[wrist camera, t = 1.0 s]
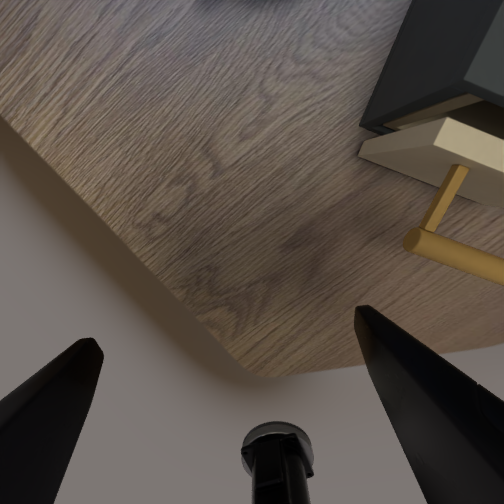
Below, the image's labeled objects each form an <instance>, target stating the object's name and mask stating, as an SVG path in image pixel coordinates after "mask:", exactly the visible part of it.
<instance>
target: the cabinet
mask: <svg viewBox="0 0 504 504" xmlns="http://www.w3.org/2000/svg"><path fill="white" fill-rule="evenodd" d="M465 92H467V93H469V94H472V95H474V96H477V97H479V98H481V99H484V100H486V101H488V102H491V103H493V104H495V105H498V106H500V107H503V108H504V0H412V2H411V5H410V7H409V9H408V12H407V14H406V16H405V19H404V21H403V23H402V26H401V28H400V30H399V33H398V35H397V38H396V40H395V42H394V45H393V47H392V49H391V52H390V54H389V56H388V59H387V61H386V63H385V66H384V68H383V70H382V73H381V75H380V77H379V80H378V82H377V84H376V87H375V89H374V91H373V94H372V96H371V98H370V101H369V103H368V105H367V108H366V110H365V112H364V115H363V117H362V119H361V122H360V124H359V126H360V127H363V128H365V129H368V130H370V131H373V132H375V133H378V134H380V135H386V134H390V133H393V132H397V131H395V130H393V129H390V128H388V127H385V126H383V123H386V122H388V121H391V120H394V119H396V118H399V117H402V116H404V115H407V114H409V113H412V112H415V111H417V110H420V109H423V108H425V107H428V106H431V105H433V104H436V103H438V102H441V101H444V100H446V99H449V98H452V97H454V96H457V95H459V94H462V93H465Z"/></svg>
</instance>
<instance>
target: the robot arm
mask: <svg viewBox="0 0 504 504" xmlns="http://www.w3.org/2000/svg"><path fill="white" fill-rule="evenodd" d="M354 329H355V332H356V335H357V338H358V342H359V345H360V348H361V351H362V354H363V357H364V360H365V363H366V366H367V369H368V372H369V375H370V377H371V379H372V382H373V384H374V386H375V388H376V391H377V393H378V395H379V397H380V400H381V402H382V404H383V406H384V408H385V411H386V413H387V415H388V417H389V419H390V422H391V424H392V426H393V428H394V430H395V433H396V435H397V437H398V439H399V442H400V444H401V446H402V448H403V451H404V453H405V455H406V457H407V459H408V461H409V464H410V466H411V468H412V470H413V473H414V475H415V477H416V479H417V481H418V483H419V486H420V488H421V490H422V492H423V494H424V497H425V499H426V501H427V503H428V504H504V401H503V400H501V399H500V398H498V397H497V396H495V395H494V394H493V393H491V392H490V391H488V390H487V389H486V388H484V387H483V386H481V385H480V384H478V385H477V382H476V381H474V380H473V379H472V378H470V377H469V376H467V375H466V374H465V373H463V372H462V371H460V370H459V369H457V368H456V367H455V366H453V365H452V364H451V363H449V362H448V361H446V360H445V359H444V358H442V357H441V356H439V355H438V354H437V353H435V352H434V351H433V350H431V349H430V348H428V347H427V346H426V345H424V344H423V343H421V342H420V341H419V340H417V339H416V338H414V337H413V336H412V335H410V334H409V333H407V332H406V331H405V330H403V329H402V328H400V327H399V326H398V325H396V324H395V323H394V322H392V321H391V320H389V319H388V318H387V317H385V316H384V315H382V314H381V313H380V312H378V311H377V310H375V309H374V308H373V307H371V306H369V305H362V306H357V307H356V308H355V317H354ZM103 359H104V354H103V351H102V350H101V348H100V347H99V345H98V344H97V342H96V341H95V339H94V338H82V339H79V340H78V341H76V342H75V343H74V344H73V345H71V346H70V347H69V348H67V349H66V350H65V351H64V352H62V353H61V354H60V355H58V356H57V357H56V358H55V359H53V360H52V361H51V362H49V363H48V364H47V365H46V366H44V367H43V368H42V369H40V370H39V371H38V372H37V373H35V374H34V375H33V376H31V377H30V378H29V379H28V380H26V381H25V382H24V383H22V384H21V385H20V386H19V387H17V388H16V389H15V390H13V391H12V392H11V393H10V394H8V395H7V396H6V397H4V398H3V399H2V400H1V401H0V504H54V501H55V498H56V496H57V493H58V491H59V488H60V485H61V483H62V480H63V477H64V475H65V472H66V470H67V467H68V464H69V462H70V459H71V456H72V453H73V451H74V448H75V446H76V443H77V440H78V438H79V435H80V433H81V430H82V427H83V425H84V422H85V419H86V417H87V414H88V411H89V408H90V406H91V403H92V400H93V396H94V393H95V389H96V385H97V382H98V378H99V374H100V371H101V367H102V364H103ZM241 454H242V456H243V458H244V460H245V462H246V464H247V465H248V467H249V469H250V471H251V473H252V504H311V503H310V497H309V491H308V485H307V478H310V477H312V476H313V475H314V473H313V469H312V466H311V464H310V462H309V460H308V458H307V455H306V453H305V451H304V449H303V447H302V444H301V442H300V440H299V438H298V436H297V434H296V433H289V434H286V435H282V436H279V437H275V438H272V439H268V440H265V441H261V442H258V443H254V444H250V445H247V446H244V447H242V449H241Z"/></svg>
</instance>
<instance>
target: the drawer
mask: <svg viewBox="0 0 504 504" xmlns="http://www.w3.org/2000/svg"><path fill="white" fill-rule="evenodd" d="M383 126H385V127H388V128H390V129H393V130H395V131H397V132H393V133H390V134H386V135H383V136H379V137H376V138H372V139H369V140H365V141H364V142H363V145H362V147H361V149H360V152H359V154H358V157H361V158H363V159H366V160H369V161H371V162H374V163H376V164H379V165H382V166H384V167H387V168H389V169H392V170H395V171H397V172H400V173H402V174H405V175H408V176H410V177H413V178H415V179H418V180H421V181H423V182H426V183H428V184H431V185H434V186H436V187H439V190H438V192H437V194H436V196H435V197H434V199H433V201H432V203H431V205H430V207H429V208H428V210H427V212H426V214H425V216H424V218H423V220H422V221H421V223H420V225H419V228H418V227H416V228H413V229H411V230H410V231H409V232H408V233H407V234H406V236H405V238H404V241H403V247H404V249H405V250H406V251H408V252H411V253H413V254H416V255H419V256H422V257H425V258H427V259H430V260H433V261H436V262H439V263H441V264H444V265H447V266H450V267H452V268H455V269H458V270H461V271H464V272H466V273H469V274H472V275H475V276H478V277H480V278H483V279H486V280H489V281H492V282H494V283H497V284H500V285H503V286H504V259H503V258H500V257H497V256H495V255H492V254H489V253H487V252H484V251H481V250H478V249H476V248H473V247H470V246H468V245H465V244H462V243H459V242H457V241H454V240H451V239H449V238H446V237H443V236H440V235H438V234H435V233H432V232H435V230H436V228H437V226H438V224H439V223H440V221H441V219H442V217H443V216H444V214H445V212H446V210H447V208H448V207H449V205H450V203H451V201H452V200H453V198H454V196H455V194H457V195H460V196H462V197H465V198H467V199H470V200H473V201H475V202H478V203H480V204H483V205H486V206H493V207H500V208H504V108H503V107H500V106H498V105H495V104H493V103H491V102H488V101H486V100H484V99H481V98H479V97H477V96H474V95H472V94H469V93H467V92H465V93H462V94H459V95H457V96H454V97H452V98H449V99H446V100H444V101H441V102H438V103H436V104H433V105H431V106H428V107H425V108H423V109H420V110H417V111H415V112H412V113H409V114H407V115H404V116H402V117H399V118H396V119H394V120H391V121H388V122H386V123H383Z"/></svg>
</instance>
